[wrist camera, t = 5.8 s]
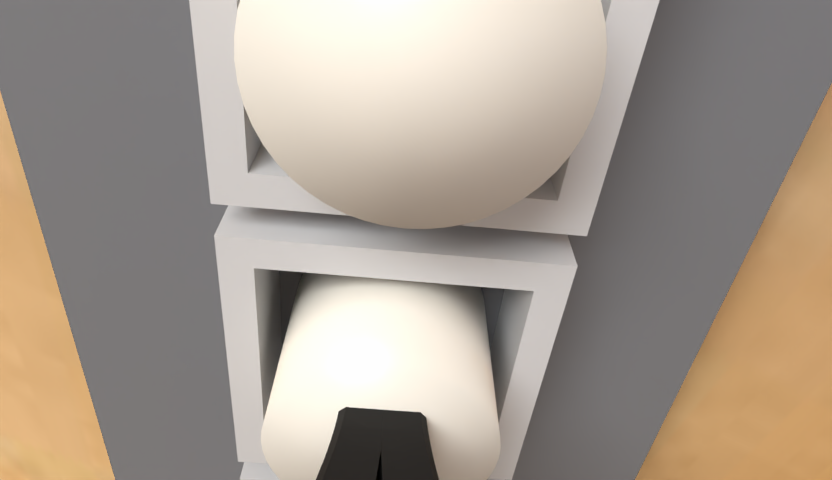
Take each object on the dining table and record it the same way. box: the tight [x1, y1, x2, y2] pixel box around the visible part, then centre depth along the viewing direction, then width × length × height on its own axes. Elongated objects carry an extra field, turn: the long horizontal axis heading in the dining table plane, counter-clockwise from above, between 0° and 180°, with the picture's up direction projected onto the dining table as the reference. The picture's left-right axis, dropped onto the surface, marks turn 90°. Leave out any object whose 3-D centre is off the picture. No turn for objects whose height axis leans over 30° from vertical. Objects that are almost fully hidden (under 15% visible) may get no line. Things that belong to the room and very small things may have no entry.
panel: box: [0, 0, 832, 480], centre depth 14 cm, size 14×21×4 cm, turn 174°
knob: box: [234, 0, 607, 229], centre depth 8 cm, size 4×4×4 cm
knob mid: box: [261, 272, 501, 480], centre depth 12 cm, size 4×4×4 cm
